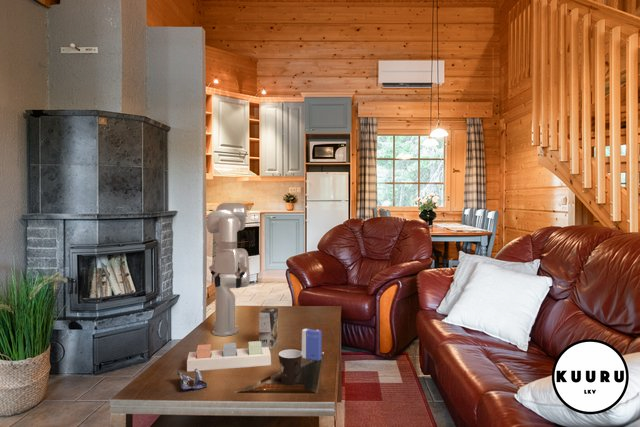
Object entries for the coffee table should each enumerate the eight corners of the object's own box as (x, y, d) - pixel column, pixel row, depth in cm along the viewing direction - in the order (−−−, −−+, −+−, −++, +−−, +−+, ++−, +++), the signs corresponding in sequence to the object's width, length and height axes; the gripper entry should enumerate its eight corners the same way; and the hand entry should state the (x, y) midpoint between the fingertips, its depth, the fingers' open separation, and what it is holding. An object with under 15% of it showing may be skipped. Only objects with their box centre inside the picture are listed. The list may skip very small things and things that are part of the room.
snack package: (211, 378, 160) (179, 378, 159) (211, 363, 158) (179, 362, 158) (204, 399, 148) (169, 398, 147) (204, 382, 147) (169, 381, 146)
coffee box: (272, 349, 190) (272, 313, 189) (258, 348, 191) (258, 312, 190) (278, 342, 199) (278, 307, 198) (265, 341, 200) (265, 307, 199)
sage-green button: (248, 357, 172) (248, 345, 172) (248, 353, 177) (248, 341, 177) (261, 356, 173) (261, 345, 173) (260, 352, 178) (260, 341, 178)
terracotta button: (197, 361, 168) (196, 349, 168) (197, 356, 173) (197, 345, 173) (210, 360, 169) (210, 348, 169) (210, 355, 174) (210, 344, 174)
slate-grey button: (223, 359, 170) (223, 347, 170) (223, 355, 175) (223, 343, 175) (236, 358, 171) (236, 346, 171) (236, 354, 176) (236, 342, 176)
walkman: (321, 358, 179) (321, 329, 179) (318, 360, 177) (318, 331, 176) (304, 355, 182) (304, 327, 182) (301, 357, 180) (301, 329, 179)
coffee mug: (278, 376, 161) (278, 349, 161) (301, 375, 162) (301, 349, 161) (278, 389, 150) (278, 361, 149) (303, 389, 150) (303, 360, 150)
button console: (187, 371, 165) (187, 361, 165) (189, 361, 175) (189, 352, 175) (270, 365, 172) (270, 355, 171) (268, 356, 181) (268, 346, 181)
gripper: (204, 246, 179) (204, 287, 179) (242, 247, 174) (242, 289, 174) (214, 245, 186) (214, 284, 186) (250, 245, 181) (250, 286, 181)
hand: (228, 287), depth 180 cm, fingers open, 9 cm apart
